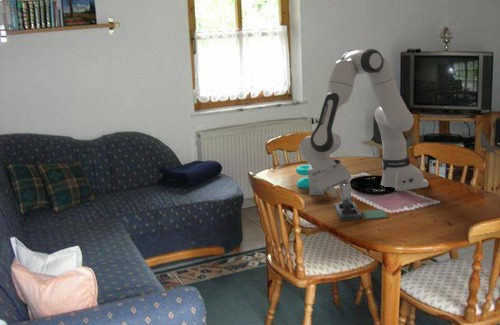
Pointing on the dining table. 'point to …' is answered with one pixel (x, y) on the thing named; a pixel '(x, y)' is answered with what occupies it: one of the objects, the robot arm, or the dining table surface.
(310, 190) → the supplement box
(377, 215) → the mat
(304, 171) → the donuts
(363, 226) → the dining table surface
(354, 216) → the grey double frame
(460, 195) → the dining table surface
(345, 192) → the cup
